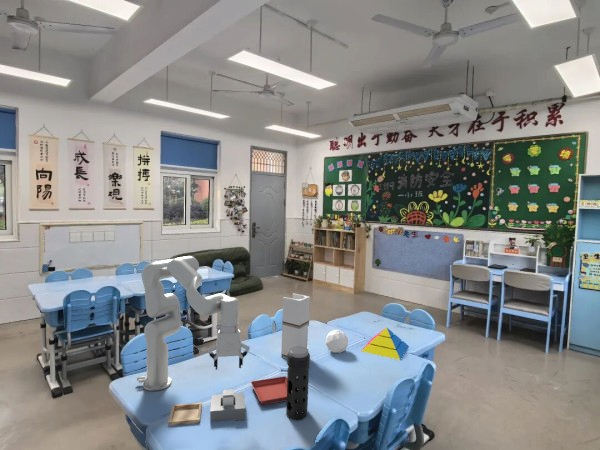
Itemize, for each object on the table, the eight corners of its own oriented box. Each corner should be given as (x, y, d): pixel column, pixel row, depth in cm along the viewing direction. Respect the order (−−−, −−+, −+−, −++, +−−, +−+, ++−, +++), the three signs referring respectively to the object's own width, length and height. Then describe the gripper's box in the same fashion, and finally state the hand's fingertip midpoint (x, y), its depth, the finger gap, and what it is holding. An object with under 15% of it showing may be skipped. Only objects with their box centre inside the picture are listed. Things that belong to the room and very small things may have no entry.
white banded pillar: (308, 355, 209) (310, 296, 206) (298, 362, 200) (300, 300, 197) (291, 350, 215) (293, 293, 212) (281, 357, 206) (283, 297, 203)
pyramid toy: (401, 362, 206) (402, 338, 204) (359, 352, 217) (360, 329, 216) (410, 346, 228) (411, 324, 226) (371, 338, 239) (372, 317, 238)
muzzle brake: (300, 404, 160) (281, 412, 153) (302, 343, 157) (282, 348, 151) (314, 414, 152) (294, 423, 146) (316, 350, 150) (296, 357, 144)
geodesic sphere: (335, 334, 227) (329, 321, 220) (355, 340, 219) (349, 326, 212) (325, 353, 219) (318, 340, 211) (345, 360, 211) (339, 347, 203)
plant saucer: (250, 387, 173) (250, 380, 173) (285, 381, 179) (286, 375, 179) (259, 408, 156) (259, 401, 156) (298, 401, 162) (298, 394, 162)
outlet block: (210, 423, 144) (210, 411, 144) (211, 406, 156) (211, 394, 156) (245, 419, 147) (245, 408, 147) (243, 403, 159) (244, 392, 159)
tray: (168, 427, 141) (168, 422, 141) (172, 409, 153) (172, 404, 153) (199, 424, 144) (199, 419, 143) (201, 406, 155) (201, 402, 155)
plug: (222, 414, 149) (222, 395, 148) (222, 407, 153) (222, 389, 153) (233, 413, 150) (233, 394, 149) (233, 407, 154) (233, 389, 154)
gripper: (207, 331, 143) (206, 373, 145) (250, 330, 147) (249, 370, 148) (208, 325, 151) (207, 364, 152) (249, 323, 154) (248, 362, 156)
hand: (228, 367), depth 150 cm, fingers open, 9 cm apart
